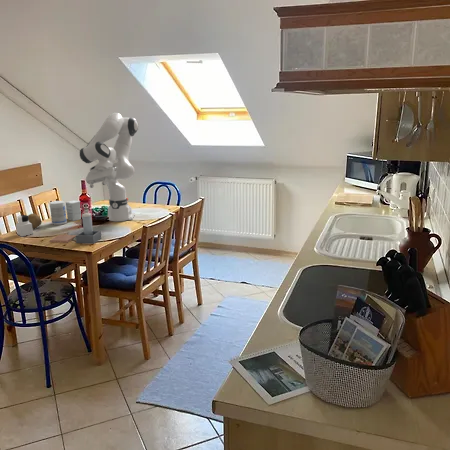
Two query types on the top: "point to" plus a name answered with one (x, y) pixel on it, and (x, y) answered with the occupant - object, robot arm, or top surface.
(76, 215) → the supplement box
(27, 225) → the medicine bottle
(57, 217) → the supplement tub
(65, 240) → the terracotta tile
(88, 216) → the canister
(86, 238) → the parts tub
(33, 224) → the natural sponge
